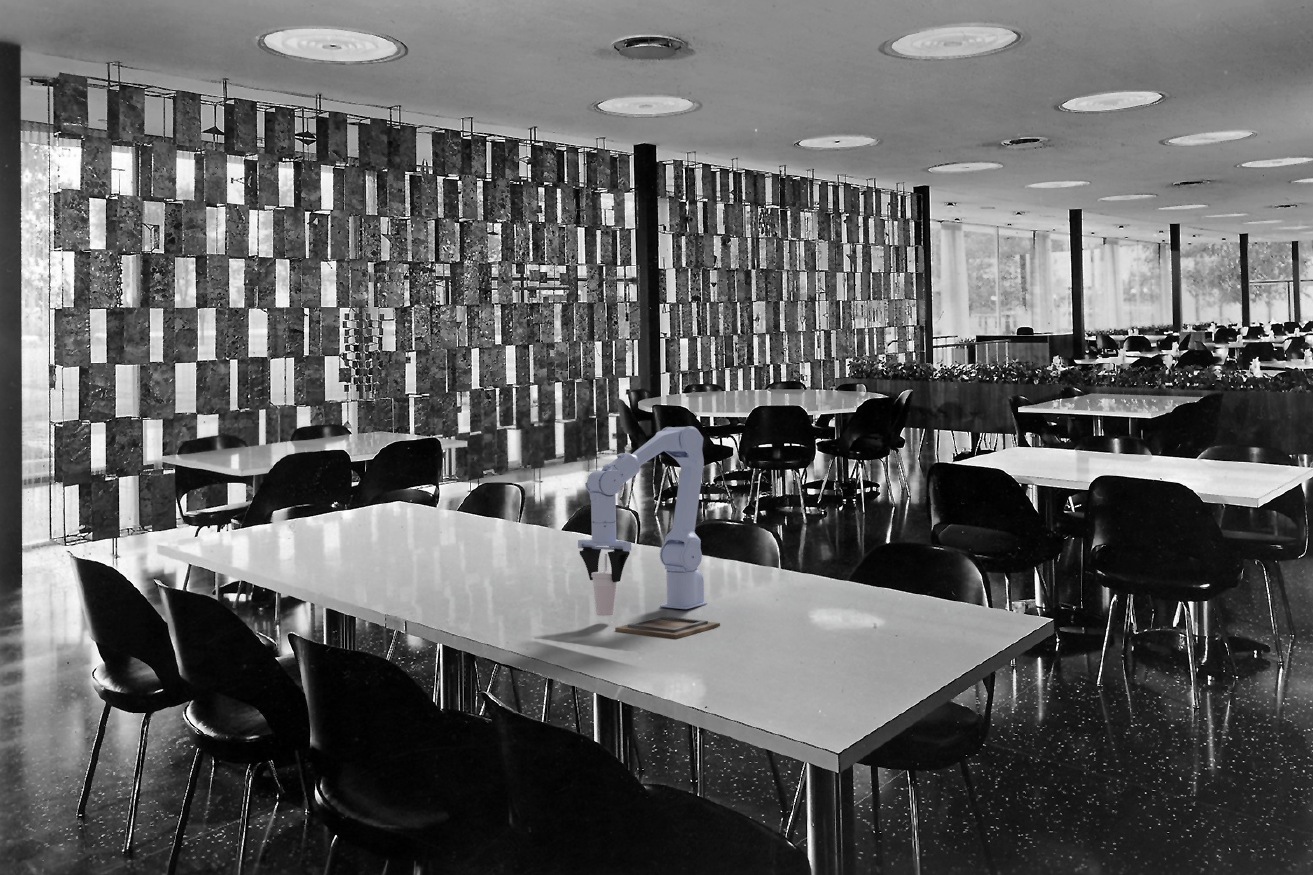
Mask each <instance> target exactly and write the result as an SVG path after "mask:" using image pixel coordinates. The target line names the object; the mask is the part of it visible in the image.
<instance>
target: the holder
mask: <svg viewBox="0 0 1313 875" xmlns="http://www.w3.org/2000/svg"><path fill="white" fill-rule="evenodd" d="M718 626H719V627H721V622H714V621H713V622H712V621H708V620H702V619H695V618H694V619H693V618H686V617H685V618H684V617H683V618H682V617H674V616H665V615H660V616H658V617H651V618H648V619H644V620H641V621H640V620H639V621H636V622H632V623H628V624H625V625H620V626H617V627H616V626H615V627H614V629H615V632H618V633H627V634H628V633H629V634H635V635H641V636H642V635H643V636H652V637H659V638H668V639H680V638H684V637H687V636H690V635H695V634H698V633H702V632H706V631H710V630H712V629H713V630H714V629H715V628H718Z"/></svg>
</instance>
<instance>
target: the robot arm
mask: <svg viewBox="0 0 1313 875" xmlns="http://www.w3.org/2000/svg"><path fill="white" fill-rule="evenodd" d="M703 444H704V436H703V435H702V434H701V432H700V431H699V429H698V428H696V427H695V426H692V425H691V426H688V425H687V426H675V427H672V426H666V427H664V428H662V429H661V430H659V431H657V432H656V433H655V435H654V436H653V437H651V438H650V439H649V440H648V441H647V442H645V443H644V444H643V445H641V446H640V447H638V449H636V450H635V451H634V452H633V453H632V454H631V453H629V452H621V453H619V454H616V458H615V459H614V460H613V461H612V462H610V463H606V464H604V465H602V468H601V470H594V471H592V472H591V473H590V474H589V476H588V478H587V480H586V481H585V483H584V485H585V488H586V490H587V492H588V494H589V500H590V506H591V507H590V512H591V513H590V515H591V517H590V518H591V539H585V538H583V539H578V540H577V548H578V549H582V550H579V555H580V557H581V558H582V560H583V562H584V565H585V567H586V570H587V575H588V578H589V580H590V581H593V577H591V573H593V572H599V561H600V555H601V552H602V550H607V557H608V559H609V562H610V567H611V568H610V569H611V571H610V572H612V581H613V582H617V583H618V582H621V579H622V574H623V570H624V567H625V564H626V562H627V560H628V558H629V556H630V551H632V542H631V541H623V540H617V510H616V509H617V506H616V501H617V500H616V497H617V496H616V494H618V493H619V491H620V490H621V486H622V485H624V484H625V483H627V482H628V481H629V480H630V479H632V478H633V477H634V476H636V475H638V474H639V472H640V470H641V466H642V465H643V464H645V463H646V462H648V461H650V460H651V459H653V458H655V457H656V456H658V455H659V454H661V453H663V452H665V453H666V454H667V455H669V456H670V457H672V458H673V459H674V460H675V461H676V462H677V464H679V466H680V472H679V478H678V484H677V485H678V486H677V487H678V488H677V494H676V501H675V502H676V503H675V506H674V515H673V516H674V517H673V522H672V529H670V531H669V532H668V533H667V534H666V535H665V536H664V541H663V544H662V546H661V547H660V550H659V559H660V562H661V564H662V565H663V566H664V570H665V571H666V574H665V575H666V576H665V577H666V602H665V603H662V604H659V607H661V608H669V609H677V610H679V609H680V610H688V609H692V608H697V607H700V606H701V607H702V606H705V605H707V604H708V602H707V601H705V593H704V592H705V590H704V589H705V588H704V586H705V584H704V582H705V581H704V576H703V573H702V572H701V571H700V570H698V567H699V566H700V565H701V563H702V559H703V553H702V549H701V548H702V547H701V543H702V542H701V541H702V540H701V538H700V537H699V536H698V535H697V534H696V531H695V530H696V525H697V524H696V523H697V517H698V508H699V502H700V501H699V500H700V494H701V487H702V486H701V485H702V480H703V474H704V472H703V471H704V465H705V462H704V461H705V459H704V454H703V446H704V445H703Z"/></svg>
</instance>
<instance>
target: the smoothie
mask: <svg viewBox="0 0 1313 875" xmlns="http://www.w3.org/2000/svg"><path fill="white" fill-rule="evenodd" d="M591 577H593V580H592V584H593V585H592V586H593V592H594V601H595V611H596V615H597V616H604V617H605V616H613V614H614V606H615V600H616V591H617V590H616V589H617V583H618V582H613V581H612V571H608V553H604V571H598V572H593V573H591Z"/></svg>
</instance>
